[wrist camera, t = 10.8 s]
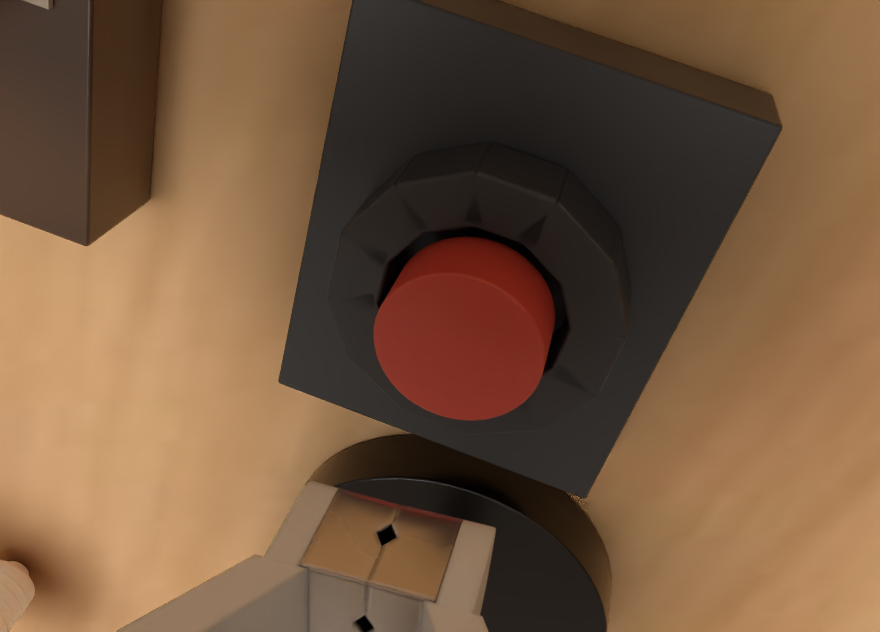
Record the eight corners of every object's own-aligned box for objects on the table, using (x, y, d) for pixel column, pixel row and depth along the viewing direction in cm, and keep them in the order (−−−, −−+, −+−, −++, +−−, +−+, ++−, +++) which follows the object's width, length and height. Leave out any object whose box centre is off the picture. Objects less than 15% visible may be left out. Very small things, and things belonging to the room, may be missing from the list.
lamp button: (417, 211, 17) (393, 248, 16) (579, 269, 17) (570, 312, 16) (381, 342, 19) (356, 386, 18) (525, 396, 19) (513, 444, 18)
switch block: (387, -38, 18) (323, -4, 15) (773, 94, 18) (794, 159, 15) (307, 340, 25) (249, 423, 21) (592, 447, 24) (578, 550, 21)
